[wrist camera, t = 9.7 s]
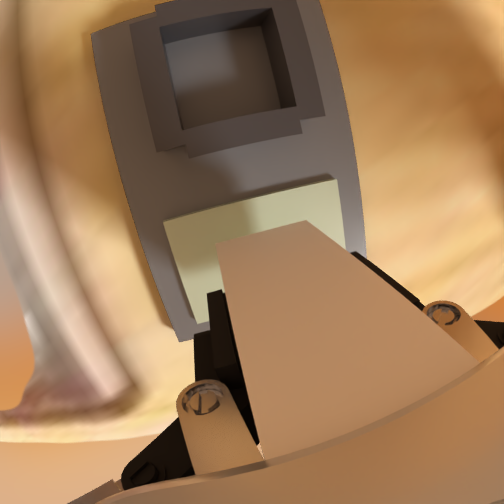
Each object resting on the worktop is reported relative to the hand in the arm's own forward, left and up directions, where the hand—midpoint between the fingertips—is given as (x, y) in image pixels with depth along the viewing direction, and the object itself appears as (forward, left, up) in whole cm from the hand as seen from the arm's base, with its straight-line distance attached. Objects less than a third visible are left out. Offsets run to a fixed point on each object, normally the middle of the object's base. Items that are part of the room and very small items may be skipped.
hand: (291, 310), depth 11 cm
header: (0, -5, -7) cm, 9 cm away
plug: (0, 0, -3) cm, 3 cm away
